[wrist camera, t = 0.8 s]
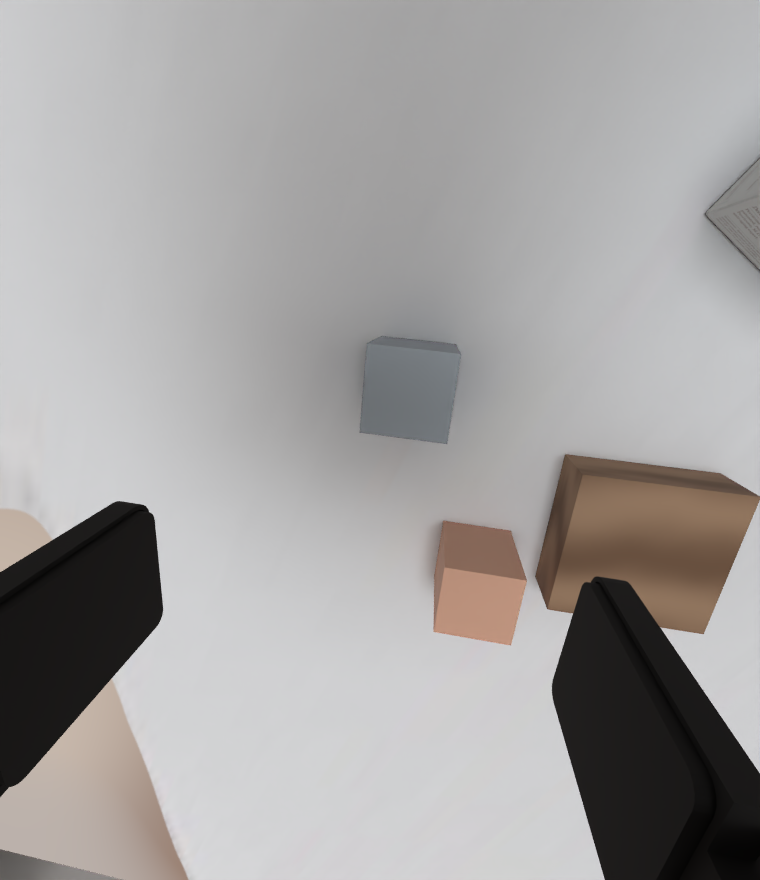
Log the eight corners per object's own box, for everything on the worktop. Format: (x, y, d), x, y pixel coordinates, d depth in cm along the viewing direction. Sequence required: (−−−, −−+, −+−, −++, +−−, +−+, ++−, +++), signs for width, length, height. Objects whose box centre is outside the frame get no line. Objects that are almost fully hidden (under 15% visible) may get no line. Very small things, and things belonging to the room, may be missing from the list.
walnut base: (563, 452, 29) (582, 474, 25) (716, 471, 28) (760, 497, 24) (534, 573, 32) (547, 609, 28) (671, 594, 31) (703, 634, 27)
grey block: (381, 336, 28) (367, 343, 22) (456, 344, 27) (461, 354, 22) (374, 408, 29) (359, 432, 24) (445, 417, 29) (447, 443, 23)
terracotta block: (443, 520, 31) (444, 567, 26) (510, 530, 31) (526, 580, 25) (434, 575, 33) (433, 631, 27) (498, 586, 32) (510, 645, 27)
